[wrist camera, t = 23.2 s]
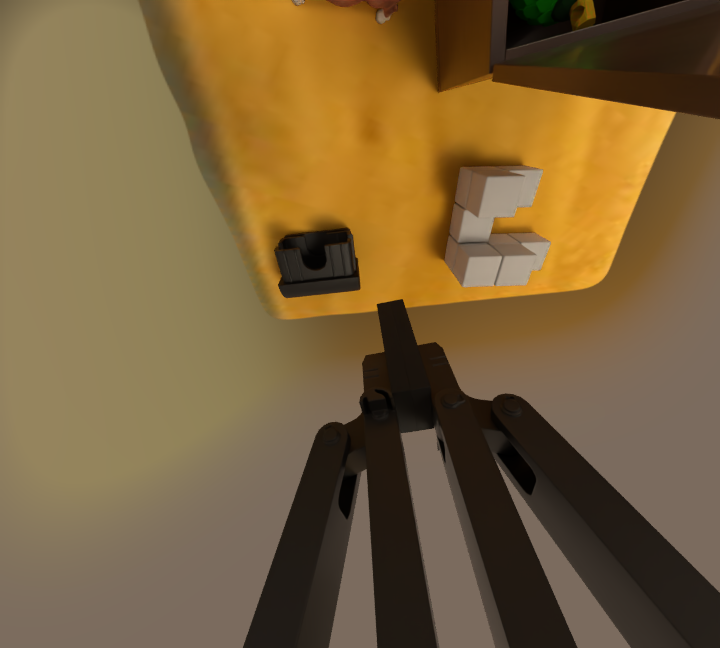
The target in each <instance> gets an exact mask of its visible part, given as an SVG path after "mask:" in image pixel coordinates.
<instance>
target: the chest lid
mask: <svg viewBox="0 0 720 648" xmlns="http://www.w3.org/2000/svg"><path fill="white" fill-rule="evenodd" d="M492 81H493V82H498V83H504V84H510V85H516V86H522V87H528V88H534V89H541V90H547V91H553V92H559V93H565V94H571V95H577V96H583V97H589V98H595V99H601V100H607V101H613V102H619V103H625V104H631V105H637V106H643V107H649V108H655V109H661V110H667V111H673V112H679V113H685V114H691V115H698V116H703V117H710V118H715V119H720V2H718V3H715V4H711V5H708V6H704V7H700V8H697V9H693V10H689V11H686V12H682V13H678V14H675V15H671V16H667V17H664V18H660V19H656V20H653V21H649V22H645V23H642V24H638V25H634V26H631V27H627V28H623V29H620V30H616V31H612V32H609V33H605V34H601V35H598V36H594V37H590V38H587V39H583V40H579V41H576V42H572V43H568V44H565V45H561V46H557V47H554V48H550V49H546V50H543V51H539V52H535V53H532V54H528V55H524V56H521V57H517V58H513V59H510V60H506V61H502V62H499V63H495V64H494V67H493V78H492Z"/></svg>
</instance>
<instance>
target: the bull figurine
mask: <svg viewBox="0 0 720 648" xmlns="http://www.w3.org/2000/svg"><path fill="white" fill-rule="evenodd" d="M327 1H329V2H331V3H333V4H335V5H337V6H341V7H350V6H353V5H356V4H358V3H360V2H362V1H366V2H367V3H368V4H369V5H370V6H372V7H374V8H382V9H381V10H378V11H377V13H376V21H377V22H378V23H379V24H383V23H384V22H385V21H386V20H390V17H391V15H392V13H394V12H396V11H398V5H397V4H396V3H398V2H399V1H401V0H327ZM292 2H293V3H294V4H295V5H296V6H299V5H300V4H301V3H302V4H304V3H305V0H292Z"/></svg>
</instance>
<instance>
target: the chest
mask: <svg viewBox="0 0 720 648" xmlns="http://www.w3.org/2000/svg"><path fill="white" fill-rule="evenodd" d="M718 2H720V0H595V1H594V2H593V4H594V9H595V15H596V19H595V24H594V25H593V26H590V27H586V28H583V29H579V30H576V31H573V30H572V24H571V20H567V21H565V22H558V23H556V24H553V25H550V26H547V27H543V26H542V25H529V24H528V23H527V21H525V20H522V19H520V17H518V16H517V15H516V13H515V11H516V10H515V9H514V8H513V7H512V4H511V3H510V1H509V0H434V5H435V31H436V56H437V82H438V93H439V92H442V91H446V90H450V89H454V88H457V87H461V86H465V85H469V84H472V83H476V82H480V81H483V80H487V79H491V78H493V67H494V64H495V63H499V62H502V61H506V60H510V59H513V58H517V57H521V56H524V55H528V54H532V53H535V52H539V51H543V50H546V49H550V48H554V47H557V46H561V45H565V44H568V43H572V42H576V41H579V40H583V39H587V38H590V37H594V36H598V35H601V34H605V33H609V32H612V31H616V30H620V29H623V28H627V27H631V26H634V25H638V24H642V23H645V22H649V21H653V20H656V19H660V18H664V17H667V16H671V15H675V14H678V13H682V12H686V11H689V10H693V9H697V8H700V7H704V6H708V5H711V4H715V3H718Z"/></svg>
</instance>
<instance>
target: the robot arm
mask: <svg viewBox="0 0 720 648" xmlns="http://www.w3.org/2000/svg"><path fill="white" fill-rule="evenodd" d="M377 308H378V314H379V320H380V326H381V332H382V338H383V344H384V350H385V352H382V353H376V354H371V355H366V356H365V358H364V361H363V363H362V366H363V382H364V393H363V394H362V396H361V397H360V402H359V403H360V406H361V409H362V413H361V415H360V416H358V417H357V418H356V419H355V420H353V421H351V422H349V423H347V424H345V425H343V424H342V423H338V422H331V423H328V424H326V425H324V426H323V427H322V428H321V429H320V430H319V431H318V433H317V435H316V437H315V440H314V443H313V446H312V448H311V451H310V454H309V457H308V460H307V463H306V466H305V469H304V472H303V475H302V477H301V481H300V484H299V486H298V489H297V492H296V495H295V498H294V501H293V504H292V507H291V509H290V512H289V515H288V518H287V521H286V524H285V527H284V530H283V533H282V536H281V539H280V542H279V544H278V547H277V550H276V553H275V556H274V559H273V562H272V565H271V568H270V571H269V574H268V576H267V579H266V582H265V585H264V588H263V591H262V594H261V597H260V600H259V603H258V605H257V608H256V611H255V614H254V617H253V620H252V623H251V626H250V629H249V632H248V635H247V637H246V640H245V643H244V646H243V648H328V647H329V643H330V637H331V632H332V627H333V621H334V616H335V610H336V605H337V600H338V594H339V589H340V583H341V578H342V572H343V567H344V562H345V557H346V551H347V546H348V541H349V535H350V530H351V524H352V519H353V514H354V508H355V503H356V498H357V493H358V487H359V482H360V476H361V472H362V471H363V470H365V469H367V480H368V481H367V482H368V498H369V514H370V531H371V547H372V564H373V581H374V598H375V615H376V632H377V648H439V644H438V638H437V632H436V627H435V621H434V616H433V610H432V604H431V599H430V593H429V587H428V582H427V576H426V571H425V565H424V560H423V554H422V548H421V543H420V537H419V532H418V526H417V520H416V515H415V509H414V503H413V498H412V492H411V486H410V481H409V475H408V470H407V464H406V459H405V453H404V447H403V442H402V438H401V433H406V432H413V431H419V430H426V429H432V428H434V427H435V430H436V433H437V445H438V450H440V453H441V456H442V460H443V463H444V467H445V470H446V474H447V477H448V481H449V485H450V488H451V491H452V495H453V499H454V502H455V506H456V509H457V513H458V517H459V520H460V523H461V527H462V531H463V534H464V537H465V541H466V545H467V548H468V552H469V555H470V559H471V563H472V566H473V570H474V573H475V577H476V580H477V584H478V587H479V590H480V594H481V598H482V601H483V605H484V608H485V612H486V616H487V619H488V623H489V626H490V630H491V633H492V637H493V640H494V644H495V648H577V646H576V643H575V641H574V639H573V637H572V634H571V632H570V630H569V628H568V625H567V623H566V621H565V618H564V616H563V614H562V612H561V609H560V607H559V605H558V603H557V600H556V598H555V596H554V593H553V591H552V589H551V586H550V584H549V582H548V580H547V577H546V575H545V573H544V570H543V568H542V566H541V564H540V561H539V559H538V557H537V555H536V553H535V550H534V548H533V546H532V543H531V541H530V539H529V536H528V534H527V532H526V529H525V527H524V525H523V523H522V520H521V518H520V516H519V514H518V512H517V509H516V507H515V505H514V502H513V500H512V498H511V495H510V493H509V491H508V488H507V486H506V484H505V482H504V479H503V477H502V475H501V473H500V470H499V468H498V466H497V464H496V461H497V463H498V464H499V465H500V467H501V468H502V470H503V471H504V472H505V474H506V475H507V477H508V478H509V479H510V481H511V482H512V483H513V485H514V486H515V487H516V489H517V490H518V492H519V493H520V494H521V496H522V497H523V498H524V500H525V501H526V503H527V504H528V506H529V507H530V508H531V510H532V511H533V513H534V514H535V515H536V517H537V518H538V519H539V521H540V522H541V524H542V525H543V526H544V528H545V529H546V530H547V532H548V533H549V535H550V536H551V537H552V539H553V540H554V541H555V543H556V544H557V546H558V547H559V548H560V550H561V551H562V553H563V554H564V555H565V557H566V558H567V560H568V561H569V562H570V564H571V565H572V567H573V568H574V569H575V571H576V572H577V573H578V575H579V576H580V577H581V579H582V580H583V582H584V583H585V585H586V586H587V587H588V589H589V590H590V591H591V593H592V594H593V596H594V597H595V598H596V600H597V601H598V603H599V604H600V605H601V607H602V608H603V609H604V611H605V612H606V614H607V615H608V616H609V618H610V619H611V620H612V622H613V623H614V625H615V626H616V627H617V629H618V630H619V632H620V633H621V634H622V636H623V637H624V639H625V640H626V641H627V643H628V644H629V645H630V647H631V648H720V593H719V592H718V591H717V590H716V589H715V588H714V587H713V586H712V585H711V584H710V583H709V582H708V581H707V580H706V579H705V578H704V577H703V576H702V575H701V574H700V573H699V572H698V571H697V570H696V569H695V568H694V567H693V566H692V565H691V564H690V563H689V562H688V561H687V560H686V559H685V558H684V557H683V556H682V555H681V554H680V553H679V552H678V551H677V550H676V549H675V548H674V547H673V546H672V545H671V544H670V543H669V542H668V541H667V540H666V539H665V538H664V537H663V536H662V535H661V534H660V533H659V532H658V531H657V530H656V529H655V528H654V527H653V526H652V525H651V524H650V523H649V522H648V521H647V520H646V519H645V518H644V517H643V516H642V515H641V514H640V513H639V512H638V511H637V510H635V508H634V507H633V506H632V505H631V504H630V503H629V502H628V501H627V500H626V499H625V498H624V497H622V495H621V494H620V493H619V492H617V490H616V489H614V487H612V486H611V485H610V484H609V483H608V482H607V481H606V480H605V479H604V478H603V477H602V476H601V475H600V474H599V473H598V472H597V471H596V470H595V469H594V468H593V467H592V466H591V465H590V464H589V463H588V462H587V461H586V460H585V459H584V458H583V457H582V456H581V455H580V454H579V453H578V452H577V451H576V450H575V449H574V448H573V447H572V446H571V445H570V444H569V443H568V442H567V441H566V440H565V439H564V438H563V437H562V436H561V435H560V434H559V433H558V432H557V431H556V430H555V429H554V428H553V427H552V426H551V425H550V424H549V423H548V422H547V421H546V420H545V419H544V418H543V417H542V416H541V415H540V414H539V413H538V412H537V411H536V410H535V409H534V408H533V407H532V406H531V405H530V404H529V403H528V402H527V401H525V400H524V399H523V398H521V397H519V396H516V395H514V394H501V395H498V396H497V397H495V398H494V399H493V401H488V400H479V399H474V398H472V397H469V396H468V395H466V394H464V392H463V391H461V389H460V387H459V386H458V383H457V381H456V378H455V376H454V374H453V371H452V369H451V367H450V364H449V362H448V360H447V358H446V356H445V353H444V350H443V348H442V347H440V346H439V345H438V344H437V343H436V342H434V343H428V344H423V345H417V343H416V340H415V337H414V333H413V330H412V327H411V324H410V321H409V318H408V314H407V312H406V308H405V305H404V302H403V299H401V300H395V301H390V302H385V303H380V304H377ZM495 460H496V461H495Z"/></svg>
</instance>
